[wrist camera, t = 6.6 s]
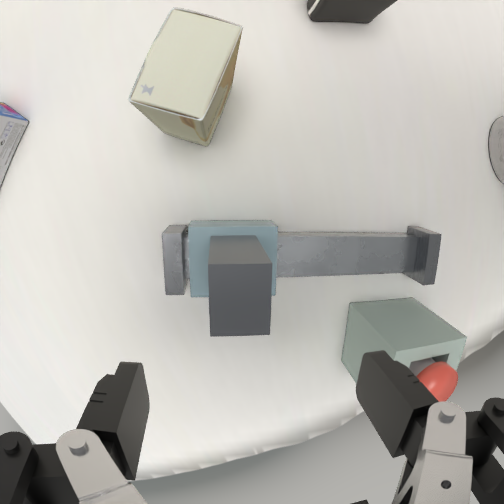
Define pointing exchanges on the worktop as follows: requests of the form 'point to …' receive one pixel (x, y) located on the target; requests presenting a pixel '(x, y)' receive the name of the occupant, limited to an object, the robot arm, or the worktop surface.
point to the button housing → (399, 334)
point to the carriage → (234, 273)
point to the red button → (435, 377)
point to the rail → (324, 255)
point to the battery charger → (347, 10)
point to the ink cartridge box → (9, 135)
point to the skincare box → (188, 75)
